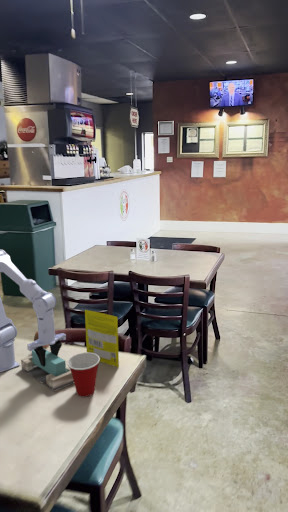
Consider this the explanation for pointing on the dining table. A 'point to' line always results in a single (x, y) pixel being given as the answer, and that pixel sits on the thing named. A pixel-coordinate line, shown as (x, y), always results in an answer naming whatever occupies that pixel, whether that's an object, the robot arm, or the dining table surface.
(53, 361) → the slat
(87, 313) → the food package
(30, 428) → the dining table surface
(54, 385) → the cradle
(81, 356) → the plastic cup
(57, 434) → the dining table surface
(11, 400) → the dining table surface
